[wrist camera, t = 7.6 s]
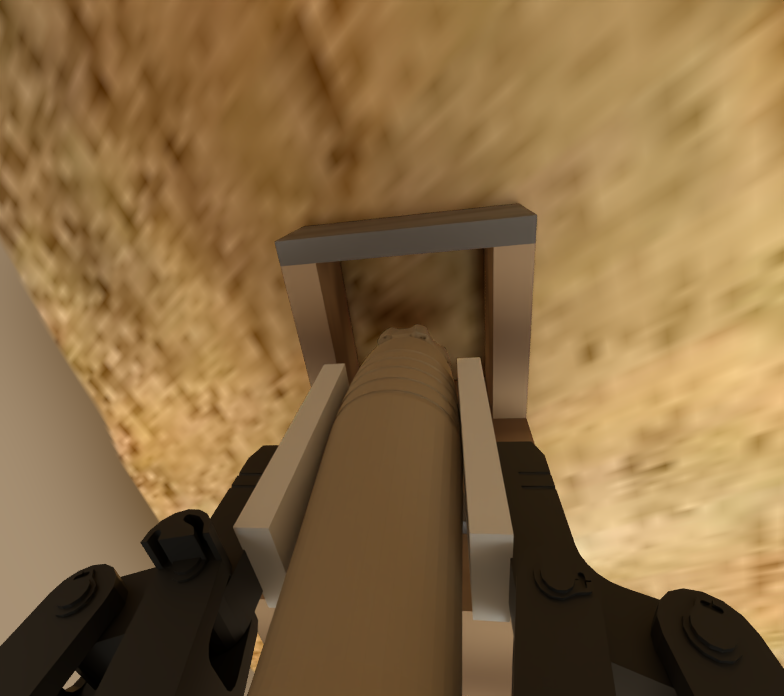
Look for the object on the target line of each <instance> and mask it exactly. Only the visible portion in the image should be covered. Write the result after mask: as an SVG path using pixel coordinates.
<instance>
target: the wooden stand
mask: <svg viewBox="0 0 784 696" xmlns="http://www.w3.org/2000/svg"><path fill="white" fill-rule="evenodd" d="M536 226H537V215H536V214H535V213H533V212H532V211H530V210H529V209H527V208H525V207H524V206H522V205H521V204H510V205H500V206H491V207H482V208H472V209H463V210H453V211H444V212H435V213H425V214H416V215H407V216H397V217H388V218H379V219H369V220H360V221H351V222H341V223H332V224H323V225H313V226H304V227H301V228H299V229H298V230H296V231H294V232H292V233H290V234H288V235H286V236H284V237H282V238H281V239H279V240H277V241H275V246H276V250H277V254H278V258H279V262H280V266H281V270H282V274H283V278H284V282H285V285H286V289H287V293H288V297H289V301H290V305H291V309H292V313H293V317H294V321H295V325H296V329H297V333H298V337H299V341H300V345H301V349H302V353H303V357H304V361H305V365H306V369H307V372H308V376H309V380H310V384H311V387H312V385H313V383H314V382H315V380H316V378H317V376H318V375H319V373H320V371H321V369H322V367H323V366H324V364H344V363H345V367H346V372H347V377H348V382H349V386H350V385H351V382H352V380H353V379H354V377H355V375H356V373H357V371H358V370H359V365H358V359H357V354H356V348H355V342H354V337H353V331H352V326H351V320H350V315H349V309H348V304H347V298H346V292H345V287H344V281H343V276H342V270H341V265H340V261H346V260H357V259H368V258H379V257H390V256H401V255H412V254H423V253H435V252H446V251H457V250H468V249H479V248H484V258H485V379H484V381H485V386H486V392H487V397H488V402H489V407H490V413H491V418H492V423H493V428H494V434H495V439H496V442H516V441H531V442H532V443H533V444H534V441H533V438H532V434H531V431H530V428H529V425H528V422H527V419H526V413H527V394H528V375H529V357H530V338H531V319H532V300H533V282H534V263H535V244H536ZM454 384H455V389H456V394H457V400H458V406H459V396H458V380H454ZM534 445H535V444H534ZM274 611H275V608H269V607H268V605H267V602H266V600H265V598H264V596H263V594H262V595H261V597H260V600H259V602H258V605H257V607H256V610H255V614H256V616H257V618H258V634H259V636H260V638H261V640H262V642H263V644H264V642H265V639H266V636H267V633H268V630H269V626H270V623H271V620H272V617H273V614H274ZM513 637H514V636H513V630H512V623H511V616H510V622H498V621H481V620H473V614H472V599H471V584H470V569H469V554H468V539H467V524H466V509H465V494H464V479H463V549H462V696H511V692H512V657H513Z"/></svg>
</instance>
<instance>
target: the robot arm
mask: <svg viewBox="0 0 784 696" xmlns="http://www.w3.org/2000/svg"><path fill="white" fill-rule="evenodd" d="M457 374H458V396H459V412H460V422H461V436H462V450H463V479H464V494H465V509H466V524H467V539H468V554H469V569H470V584H471V599H472V614H473V620H481V621H498V622H510V616H511V623H512V630H513V636H514V637H513V657H512V692H511V696H784V668H783V667H782V666H781V664H780V663H779V661H778V660H777V658H776V657H775V656H774V654H773V653H772V651H771V650H770V649H769V647H768V646H767V644H766V643H765V641H764V640H763V639H762V637H761V636H760V634H759V633H758V632H757V631H756V630H755V629H754V628H753V627H752V626H751V624H750V623H749V622H748V621H747V620H746V619H745V618H744V617H743V616H742V615H741V614H740V613H738V612H737V611H735V610H734V609H733V608H731V607H730V606H729V605H727V604H726V603H725V602H723V601H721V600H719V599H717V598H715V597H713V596H710V595H708V594H706V593H704V592H701V591H695V590H689V589H678V590H673V591H668V592H667V593H666V594H665V595H664V596H663V597H662V598H661V599H660V600H659V599H656V598H653V597H650V596H647V595H644V594H641V593H638V592H635V591H632V590H629V589H627V588H624V587H621V586H619V585H617V584H614V583H612V582H610V581H608V580H607V579H605V578H604V577H602V576H601V575H599V574H598V573H596V572H595V571H594V570H593V569H592V568H591V567H590V566H589V565H588V564H587V563H586V562H585V560H584V559H583V558H582V557H581V555H580V554H579V552H578V550H577V548H576V545H575V543H574V540H573V537H572V534H571V531H570V528H569V525H568V523H567V520H566V517H565V514H564V511H563V508H562V505H561V502H560V499H559V496H558V493H557V490H555V485H554V482H553V479H552V476H551V475H550V470H549V467H548V464H547V461H546V458H545V455H544V454H543V453H542V452H541V451H540V450H539V449H538V448H537V447H536V446H535V445H534V444H533V443H532V442H531V441H516V442H496V439H495V434H494V428H493V423H492V418H491V413H490V407H489V402H488V397H487V392H486V386H485V381H484V376H483V370H482V365H481V360H480V357H474V358H457ZM348 388H349V382H348V377H347V372H346V367H345V363H344V364H324V366H323V367H322V369H321V371H320V373H319V375H318V376H317V378H316V380H315V382H314V383H313V385H312V387H311V389H310V391H309V392H308V394H307V396H306V398H305V400H304V401H303V403H302V405H301V407H300V408H299V410H298V412H297V414H296V416H295V417H294V419H293V421H292V423H291V425H290V426H289V428H288V430H287V432H286V433H285V435H284V437H283V439H282V441H281V442H280V444H279V445H266V446H262V447H261V448H260V449H259V450H258V451H256V452H255V453H254V454H253V455H252V456H251V457H250V458H249V459H248V460H247V462H246V463H245V465H244V466H243V468H242V470H241V471H240V473H239V476H237V477H236V479H235V481H234V482H233V484H232V487H231V488H229V490H228V492H227V493H226V495H225V496H224V498H223V499H222V501H221V503H220V504H219V506H218V507H217V509H216V510H215V512H214V514H213V515H212V517H211V518H209V516H208V514H207V513H205V512H203V511H201V510H195V509H188V510H185V511H181V512H178V513H175V514H173V515H171V516H169V517H167V518H166V519H164V520H162V521H161V522H159V523H158V524H157V525H156V526H155V527H154V528H152V529H151V530H150V531H149V532H148V533H147V535H146V536H145V537H144V539H143V540H142V541H141V544H142V546H143V547H144V549H145V551H146V552H147V554H148V555H149V557H150V559H151V560H152V562H153V563H154V565H155V566H156V567H155V568H151V569H148V570H144V571H141V572H137V573H133V574H130V575H126V576H122V577H120V576H119V575H118V573H117V572H116V570H115V569H114V568H113V567H111V566H109V565H106V564H100V565H93V566H90V567H88V568H85V569H83V570H80V571H78V572H77V573H75V574H73V575H72V576H71V577H69V578H67V579H66V580H64V581H63V582H62V583H61V584H60V585H59V586H57V587H56V588H55V589H54V590H53V591H52V592H51V593H50V594H49V595H48V596H47V597H46V598H45V599H44V600H43V601H42V602H41V603H40V604H39V605H38V606H37V608H36V609H35V610H34V611H33V612H32V613H31V614H30V615H29V616H28V617H27V618H26V619H25V620H24V622H23V623H22V624H21V625H20V626H19V627H18V628H17V629H16V630H15V631H14V632H13V633H12V634H11V636H10V637H9V638H8V639H7V640H6V641H5V642H4V643H3V644H2V645H1V646H0V696H244V692H245V688H246V683H247V678H248V674H249V669H250V665H251V660H252V656H253V651H254V646H255V642H256V637H257V633H258V618H257V616H256V614H255V610H256V607H257V605H258V602H259V600H260V597H261V595H262V594H263V596H264V598H265V600H266V602H267V605H268V607H269V608H276V604H277V601H278V598H279V595H280V592H281V589H282V586H283V582H284V579H285V576H286V573H287V570H288V567H289V564H290V560H291V557H292V554H293V551H294V548H295V545H296V541H297V538H298V535H299V532H300V529H301V525H302V522H303V519H304V516H305V512H306V509H307V506H308V502H309V499H310V496H311V493H312V489H313V486H314V483H315V480H316V476H317V473H318V470H319V466H320V463H321V460H322V457H323V453H324V450H325V447H326V444H327V440H328V437H329V434H330V431H331V428H332V426H333V423H334V421H335V418H336V416H337V413H338V411H339V409H340V406H341V404H342V401H343V399H344V396H345V394H346V392H347V390H348ZM74 671H76V672H77V673H78V674H79V675H80V676H81V677H80V678H79V679H78V680H77V681H76V683H75V684H74V685H73V686H71V687H69V688H68V689H66V690H64V689H63V688H62V687H63V686H64V685H65V683H66V682H67V681H68V679H69V678H70V677H71V675H72V674H73V673H74Z"/></svg>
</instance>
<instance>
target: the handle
mask: <svg viewBox="0 0 784 696" xmlns="http://www.w3.org/2000/svg"><path fill="white" fill-rule="evenodd" d="M377 343H378V345H377V347H376V348H375V349H374V350H373V351H372V352H371V353H370V354H369V355H368V357H367V358H366V359H365V360H364V362H363V364H362V365H361V367H360V368H359V370H358V371H357V373H356V375H355V377H354V379H353V380H352V382H351V385H350V386H349V388H348V390H347V392H346V394H345V396H344V399H343V401H342V404H341V406H340V409H339V411H338V413H337V416H336V418H335V421H334V423H333V426H332V428H331V431H330V434H329V437H328V440H327V444H326V447H325V450H324V453H323V457H322V460H321V463H320V466H319V470H318V473H317V476H316V480H315V483H314V486H313V489H312V493H311V496H310V499H309V502H308V506H307V509H306V512H305V516H304V519H303V522H302V525H301V529H300V532H299V535H298V538H297V541H296V545H295V548H294V551H293V554H292V557H291V560H290V564H289V567H288V570H287V573H286V576H285V579H284V582H283V586H282V589H281V592H280V595H279V598H278V601H277V604H276V608H275V611H274V614H273V617H272V620H271V623H270V626H269V630H268V633H267V636H266V639H265V642H264V645H263V648H262V652H261V655H260V658H259V661H258V664H257V667H256V670H255V674H254V677H253V680H252V683H251V686H250V689H249V692H248V694H247V696H462V549H463V450H462V436H461V422H460V412H459V406H458V400H457V394H456V389H455V384H454V380H453V376H452V373H451V363H450V358H449V355H448V352H447V350H446V348H445V347H443V346H440V345H438V344H437V343H436V342H435V341H434V340H433V339H432V337H431V336H430V334H429V332H428V328H427V327H425V326H423V325H419V324H415V325H414V326H413V327H410V328H407V329H396V328H394V327H390V328H388V329H387V330H385V331H384V332H383V333H382V334H381V335H380V337H379V339H378V341H377Z"/></svg>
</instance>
